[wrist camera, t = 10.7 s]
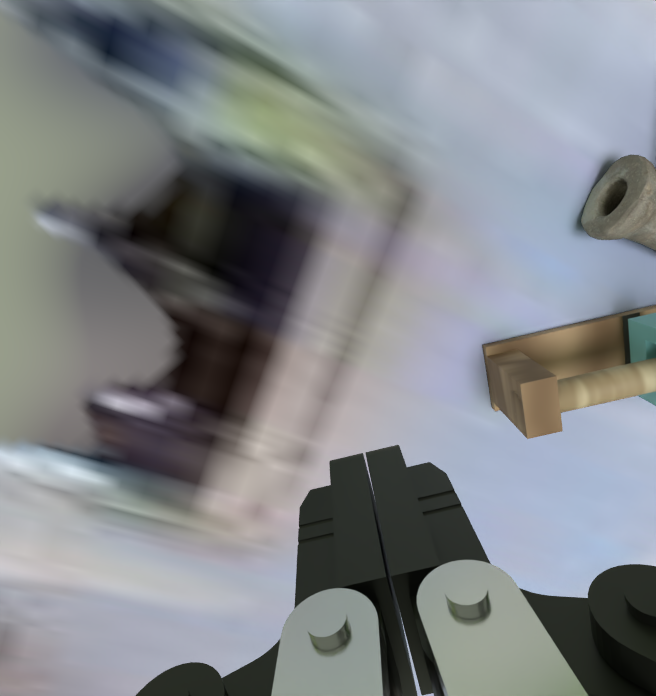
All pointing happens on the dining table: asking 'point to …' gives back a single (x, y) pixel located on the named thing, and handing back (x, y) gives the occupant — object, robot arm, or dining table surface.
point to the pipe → (624, 203)
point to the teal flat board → (643, 343)
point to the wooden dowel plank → (565, 371)
